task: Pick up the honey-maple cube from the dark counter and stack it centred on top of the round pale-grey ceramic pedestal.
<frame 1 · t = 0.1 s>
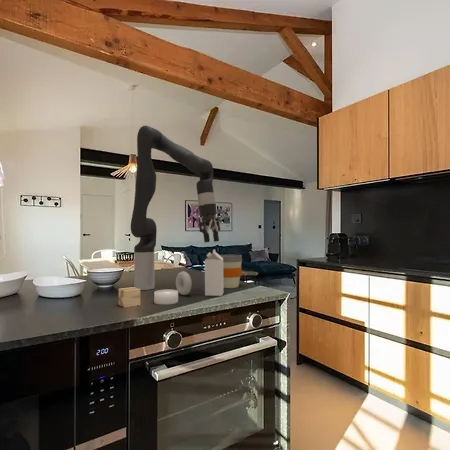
hand: (212, 241, 145), 22 cm above the worktop, tool pointing down, fingers open, 8 cm apart
pedestal: (166, 302, 130), on the worktop
milk carton: (214, 294, 145), on the worktop
donut: (183, 295, 144), on the worktop
reusable coffee cup: (229, 286, 164), on the worktop
maple cube: (129, 305, 126), on the worktop
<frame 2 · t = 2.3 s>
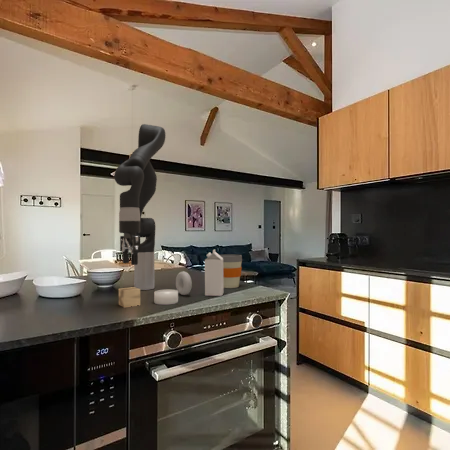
hand: (130, 263, 126), 15 cm above the worktop, tool pointing down, fingers open, 8 cm apart
nothing on the worktop moved.
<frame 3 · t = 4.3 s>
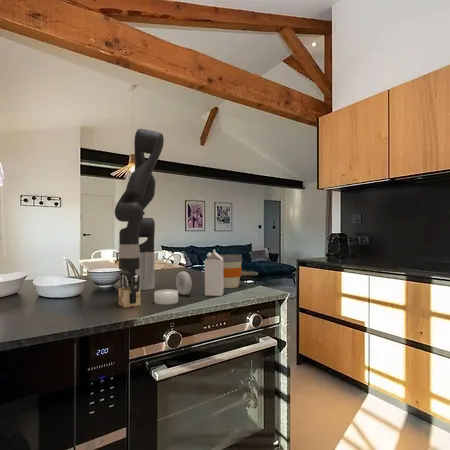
hand: (129, 301, 126), 1 cm above the worktop, tool pointing down, fingers closed on maple cube, 6 cm apart
maple cube: (129, 304, 126), on the worktop, touching gripper
everything else where it was.
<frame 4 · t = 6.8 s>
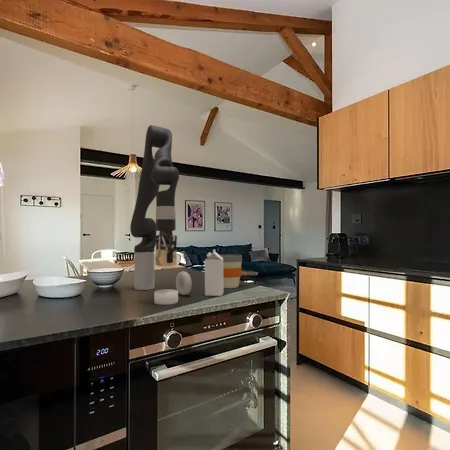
hand: (165, 262, 130), 15 cm above the worktop, tool pointing down, fingers closed on maple cube, 6 cm apart
maple cube: (165, 265, 130), point 14 cm above the worktop, touching gripper
everything else where it was.
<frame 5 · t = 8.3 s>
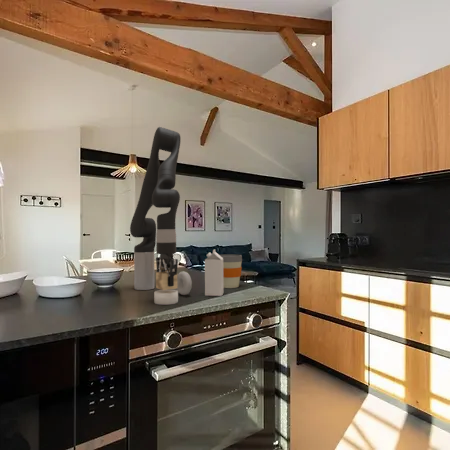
hand: (166, 285, 130), 6 cm above the worktop, tool pointing down, fingers closed on maple cube, 6 cm apart
maple cube: (166, 288, 130), point 5 cm above the worktop, touching gripper
everything else where it was.
when the fingers open (6 cm above the worktop, at t = 9.3 s): maple cube stays where it is, resting on pedestal.
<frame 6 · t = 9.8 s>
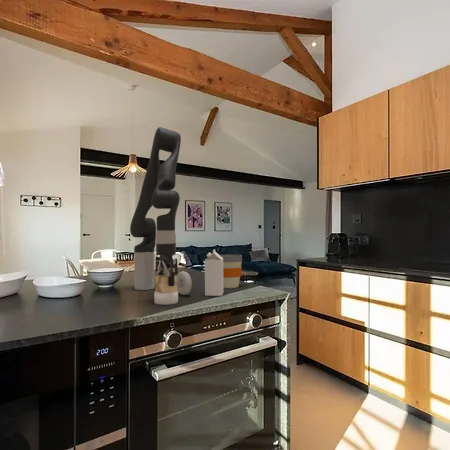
hand: (166, 284, 130), 7 cm above the worktop, tool pointing down, fingers open, 8 cm apart
maple cube: (166, 291, 130), point 4 cm above the worktop, touching pedestal
everything else where it was.
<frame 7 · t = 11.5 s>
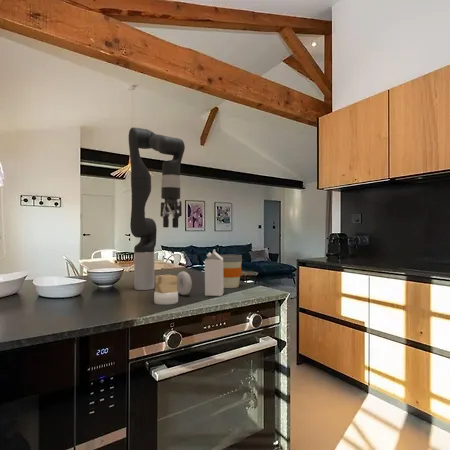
hand: (170, 227, 136), 29 cm above the worktop, tool pointing down, fingers open, 8 cm apart
nothing on the worktop moved.
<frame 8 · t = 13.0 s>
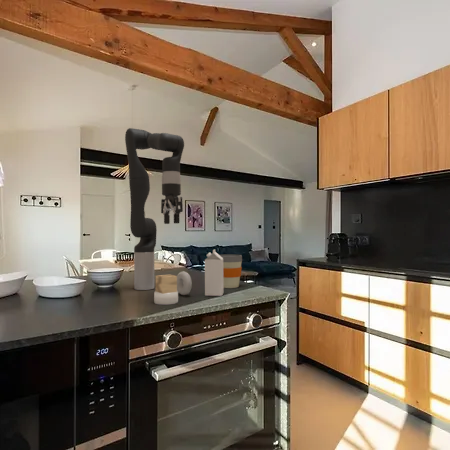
hand: (171, 223, 137), 30 cm above the worktop, tool pointing down, fingers open, 8 cm apart
nothing on the worktop moved.
at the end: maple cube 0.0 cm off-centre on the pedestal, point 4.0 cm above the pedestal's base; maple cube tilted 0°; the gripper is holding nothing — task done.
